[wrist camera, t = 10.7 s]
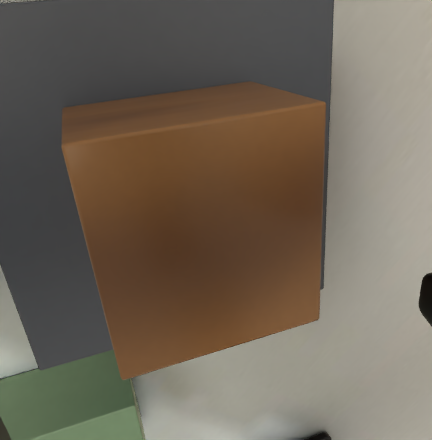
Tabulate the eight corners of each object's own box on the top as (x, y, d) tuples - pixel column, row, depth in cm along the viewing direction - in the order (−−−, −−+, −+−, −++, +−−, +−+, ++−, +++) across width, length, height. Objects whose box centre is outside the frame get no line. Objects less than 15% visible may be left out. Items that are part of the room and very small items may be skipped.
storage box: (282, 248, 22) (324, 289, 18) (43, 309, 19) (39, 371, 15) (278, -12, 17) (335, -23, 13) (-55, 15, 14) (-96, 10, 10)
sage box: (141, 418, 23) (155, 485, 20) (29, 456, 22) (23, 536, 19) (123, 343, 21) (135, 405, 18) (-5, 380, 19) (-19, 455, 16)
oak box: (259, 251, 16) (320, 320, 13) (106, 290, 15) (121, 382, 11) (252, 80, 14) (327, 101, 10) (61, 107, 12) (60, 144, 8)
